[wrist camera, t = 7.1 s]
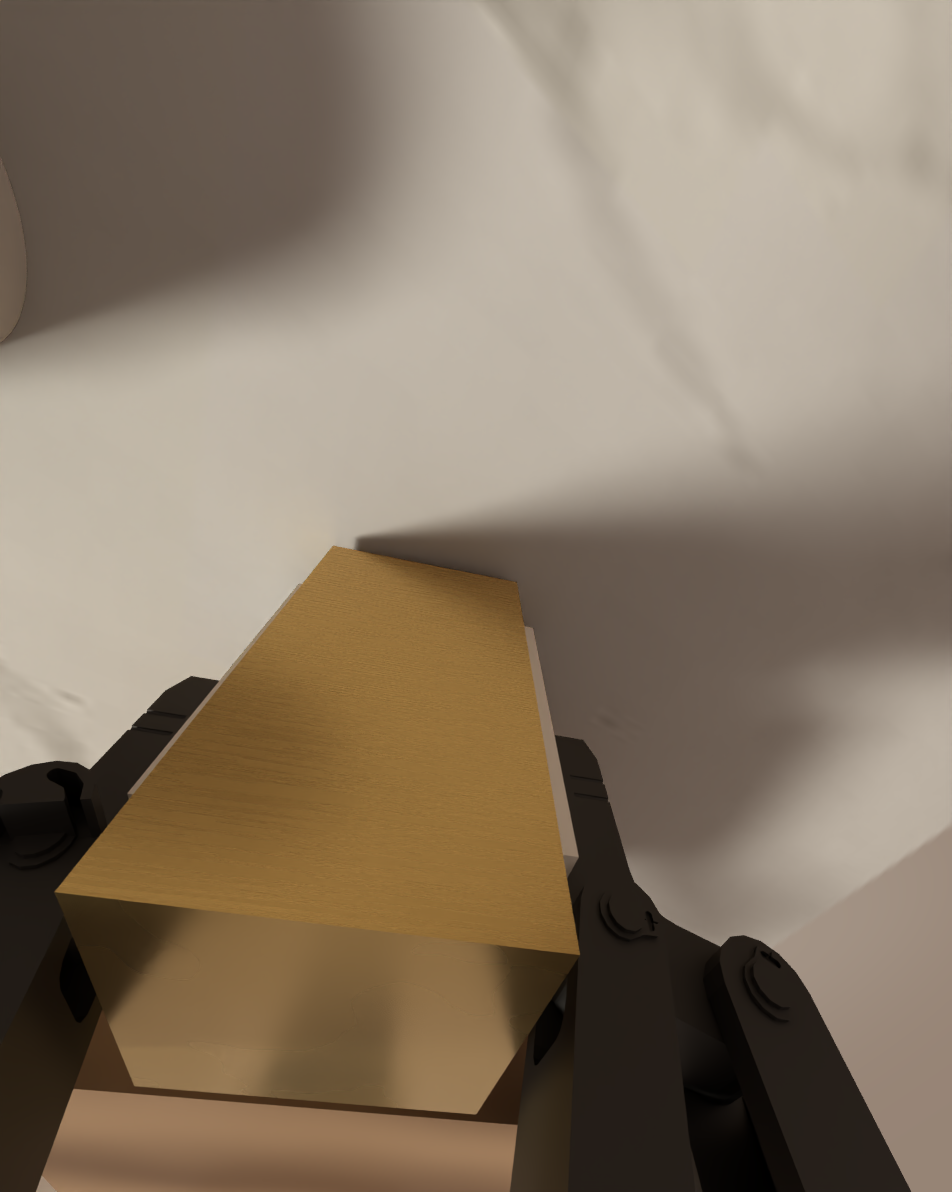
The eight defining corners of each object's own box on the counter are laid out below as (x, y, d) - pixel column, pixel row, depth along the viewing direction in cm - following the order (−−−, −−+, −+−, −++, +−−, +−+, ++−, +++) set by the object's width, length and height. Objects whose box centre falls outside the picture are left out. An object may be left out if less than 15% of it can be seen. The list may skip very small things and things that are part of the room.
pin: (333, 545, 12) (54, 892, 4) (516, 582, 12) (580, 954, 4) (307, 920, 20) (204, 1255, 13) (415, 933, 21) (378, 1264, 13)
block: (248, 677, 14) (-231, 1325, 5) (547, 727, 15) (663, 1354, 6) (254, 857, 19) (18, 1374, 9) (484, 887, 20) (489, 1386, 10)
